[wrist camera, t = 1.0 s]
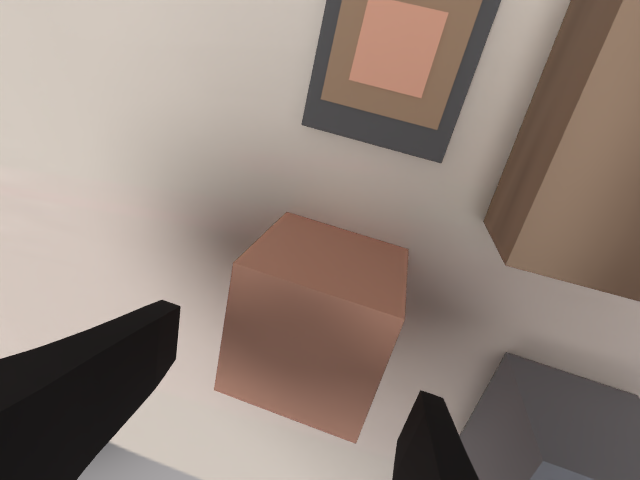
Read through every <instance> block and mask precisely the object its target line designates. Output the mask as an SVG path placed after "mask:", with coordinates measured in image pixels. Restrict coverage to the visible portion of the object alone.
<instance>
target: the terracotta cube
mask: <svg viewBox="0 0 640 480" xmlns="http://www.w3.org/2000/svg"><path fill="white" fill-rule="evenodd" d="M407 267H408V249H406V248H403V247H399V246H396V245H393V244H390V243H386V242H383V241H380V240H377V239H373V238H370V237H367V236H364V235H360V234H357V233H354V232H351V231H347V230H344V229H341V228H338V227H334V226H331V225H328V224H325V223H321V222H318V221H315V220H312V219H308V218H305V217H302V216H299V215H295V214H292V213H289V212H286V213H285V214H284V215H283V216H282V217H281V218H280V219H279V220H278V221H277V222H276V223H275V224H274V225H273V226H271V227H270V228H269V229H268V230H267V231H266V232H265V233H264V234H263V235H262V236H261V237H260V238H259V239H258V240H257V241H256V242H255V243H254V244H252V245H251V246H250V247H249V248H248V249H247V250H246V251H245V252H244V253H243V254H242V255H241V256H240V257H239V258H238V259H237V260H236V261H235V262H234V263H233V267H232V274H231V281H230V287H229V294H228V301H227V307H226V314H225V320H224V327H223V334H222V340H221V347H220V354H219V360H218V367H217V373H216V380H215V387H214V390H215V391H218V392H220V393H223V394H226V395H228V396H231V397H234V398H236V399H239V400H242V401H244V402H247V403H250V404H252V405H255V406H257V407H260V408H263V409H265V410H268V411H271V412H273V413H276V414H279V415H281V416H284V417H287V418H289V419H292V420H295V421H297V422H300V423H302V424H305V425H308V426H310V427H313V428H316V429H318V430H321V431H324V432H326V433H329V434H332V435H334V436H337V437H340V438H342V439H345V440H347V441H350V442H353V443H355V444H356V442H357V440H358V437H359V434H360V432H361V429H362V427H363V424H364V422H365V419H366V417H367V414H368V412H369V409H370V407H371V404H372V402H373V399H374V396H375V394H376V391H377V389H378V386H379V384H380V381H381V379H382V376H383V374H384V371H385V369H386V366H387V364H388V361H389V358H390V356H391V353H392V351H393V348H394V346H395V343H396V341H397V338H398V336H399V333H400V331H401V328H402V325H403V323H404V320H405V307H406V287H407Z"/></svg>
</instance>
